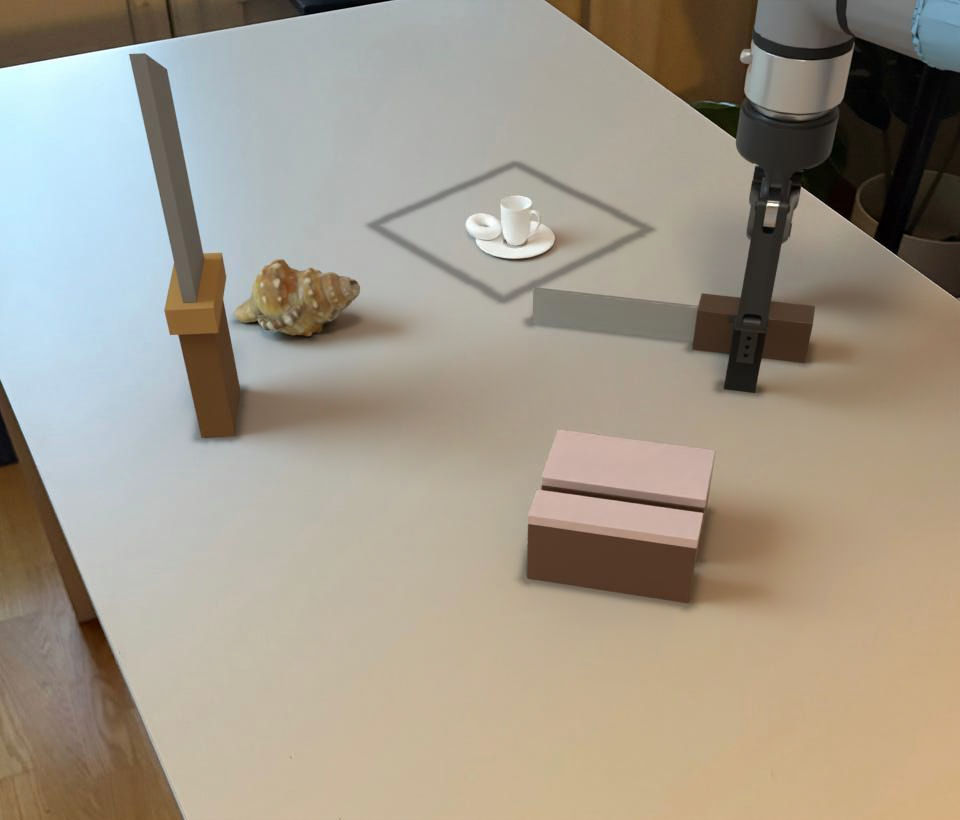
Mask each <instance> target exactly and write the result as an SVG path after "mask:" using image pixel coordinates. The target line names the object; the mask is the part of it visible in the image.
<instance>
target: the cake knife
mask: <svg viewBox="0 0 960 820" xmlns="http://www.w3.org/2000/svg"><path fill="white" fill-rule="evenodd" d="M740 298H741V297H740V296H739V297H738V296H729V295H723V294H722V295H721V294H712V293H703V292H702V293H701V294H700V298H699V303H698V305H695V304H685V303H677V302H668V301H660V300H649V299H641V298H633V297H625V296H616V295H606V294H600V293H599V294H597V293H591V292H590V293H589V292H581V291H572V290H562V289H554V288H547V287H546V288H545V287H537V286H534V287H533V289H532V324H537V325H538V324H539V325H546V326H547V325H548V326H554V327H555V326H556V327H562V328H563V327H564V328H571V329H572V328H573V329H581V330H589V331H598V332H605V333H606V332H607V333H614V334H622V335H623V334H624V335H632V336H639V337H647V338H656V339H665V340H672V341H673V340H675V341H681V342H682V341H683V342H690V343H692V346H691V350H692V351H698V352H708V353H715V354H716V353H717V354H723V355H729V354H730V348H731V342H732V336H733V330H734V325H731V324H727V320H728V315H732V316H736V314H737V313H738V310H739V304H740ZM815 311H816V305H811V304H802V303H791V302H782V301H775V300H771V304H770V309H769V315H768V318H769V325H768V329H767V333H766V338H765V343H764V348H763V354H762V359H765V360H774V361H783V362H790V363H799V364H805V363H806V359H807V353H808V348H809V344H810V340H811V335H812V330H813V326H814V319H815Z"/></svg>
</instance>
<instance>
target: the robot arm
mask: <svg viewBox="0 0 960 820" xmlns="http://www.w3.org/2000/svg"><path fill="white" fill-rule="evenodd" d="M756 5H757V6H756V12H755V21H754V22H753V28H752V34H751V38H752V39H751V43H750V48H744V49H743V50H742V51H741V53H740V56H739V60H740V62H741V63H742V64H745V65H746V64H747V65H748V66H747V69H746V74H745V80H744V87H743V89H744V90H743V91H744V94H745V96H746V97H745V98H744V99H743V100H742V101H741V103H740V109H739V117H738V122H737V123H738V124H737V130H736V137H735V147H736V151H737V152H738V154H739V155H740V156H741V158H743V159H744V160H746V161H747V162H749V163H750V164H752V165H753V164H754V165H755V166H754V171H753V176H752V177H753V178H752V180H751V185H750V189H749V196H748V197H749V198H748V203H749V205H750V208H749V214H748V220H747V226H746V231H745V232H746V238H747V239H748V240H749V241H750V242H749V248H748V253H747V258H746V265H745V269H744V276H743V281H742V287H741V292H740V297H739V298H740V304H739V310H738V313H737V314H736V316H732V315H728V320H727V324H731V325H734V330H733V336H732V342H731V348H730V354H728V361H727V367H726V372H725V379H724V384H723V390H728V391H737V392H745V393H751V394H755V393H756V391H757V390H756V389H757V385H758V379H759V374H760V369H761V363H762V359H763V358H762V354H763V348H764V343H765V338H766V333H767V329H768V325H769V318H768V315H769V309H770V304H771V301H772V298H773V293H774V287H775V281H776V277H777V271H778V265H779V261H780V254H781V250H782V245H783V244H784V243H786V242H787V241H789V238H790V237H791V232H792V226H793V223H792V222H793V217H794V212H795V210H796V209H797V207H798V205H799V201H800V196H801V192H802V183H803V177H804V172H805V171H804V170H809V169H812V168H816V167H817V166H819V165H821V164H823V163H824V162H825V161H827V159H829V157H830V155H831V153H832V150H833V146H834V141H835V137H836V136H835V135H836V131H837V126H838V121H839V117H840V107H839V106H838V105H840V104H841V103H842V101H843V99H844V97H845V93H846V89H847V88H846V87H847V82H848V79H849V78H848V77H849V73H850V68H851V63H852V58H853V53H854V50H855V49H854V48H855V39H856V38H858V39H861V40H863V41H867V42H870V43H872V44H875V45H877V46H880V47H883V48H885V49H889V50H891V51H894V52H897V53H900V54H901V55H905V56H907V57H909V58H913V59H916V60H919V61H921V62H922V63H925V64H927V66H928V67H931V68H935V69H938V70H940V71H952V72H956V73H960V0H757V4H756Z"/></svg>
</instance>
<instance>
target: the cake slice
mask: <svg viewBox="0 0 960 820" xmlns="http://www.w3.org/2000/svg"><path fill="white" fill-rule="evenodd" d="M702 520H703V513H699V512H692V511H685V510H678V509H671V508H664V507H657V506H650V505H643V504H636V503H629V502H622V501H615V500H608V499H601V498H594V497H586V496H579V495H572V494H565V493H558V492H551V491H544V490H541V489H536V491H535V494H534V496H533V500H532V503H531V505H530V508H529V511H528V515H527V551H526V552H527V555H526V579H528V580H535V581H539V582H540V581H541V582H547V583H553V584H560V585H566V586H573V587H580V588H586V589H592V590H598V591H607V592H611V593H612V592H613V593H618V594H623V595H631V596H637V597H643V598H644V597H645V598H651V599H657V600H664V601H671V602H677V603H683V604H689V602H690V596H691V591H692V587H693V581H694V575H695V569H696V564H697V561H696V558H697V559H698V556H697V551H698V545H699V539H700V533H701V526H702ZM698 552H699V551H698Z"/></svg>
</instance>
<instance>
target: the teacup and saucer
mask: <svg viewBox="0 0 960 820" xmlns="http://www.w3.org/2000/svg"><path fill="white" fill-rule="evenodd" d="M532 215H535V216H536V217H537V221H535V220H532ZM542 220H543V217H542V214H541V213H540V212H539V211H538V210H536V209H533V200H531V199H530V197H526V196H523V195H509V196H506V197H504V198H502V199H501V201H500V219H498V218H497V217H496V216H494V215H492V214H489V213H483V212H481V213H480V212H479V213H474V214H472V215H470V216H468V217H467V218H466V221H465V228H466V231H467V232H468V234H469V235H471V236H472V237H473V238H474V239H475V243H476V245H477V247H478V248H479V249H480V250H481V251H483V252H484V253H487V254H489V255H491V256H494V257H497V258H502V259H509V260H510V259H513V260H514V259H515V260H517V259H518V260H519V259H529V258H532V257H533V258H534V257H536V256H539V255H542V254H544V253H546V252H547V251H549V250H550V249H551V248H552V247H553V246H554V244H555V241H556V237H555V234H554V233H555V232H553V230H552V229H551V228H550V227H548V226H547V225H545V224H543V223H542ZM504 241H506V243H507V244H508V245H510V246H513V247H514V246H516V247H515V248H513V247H509V246H506V245H505V244H504ZM525 243H526V244H525ZM524 244H525V245H524ZM522 245H524V246H522ZM517 246H518V247H517ZM519 246H521V247H519Z"/></svg>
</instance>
